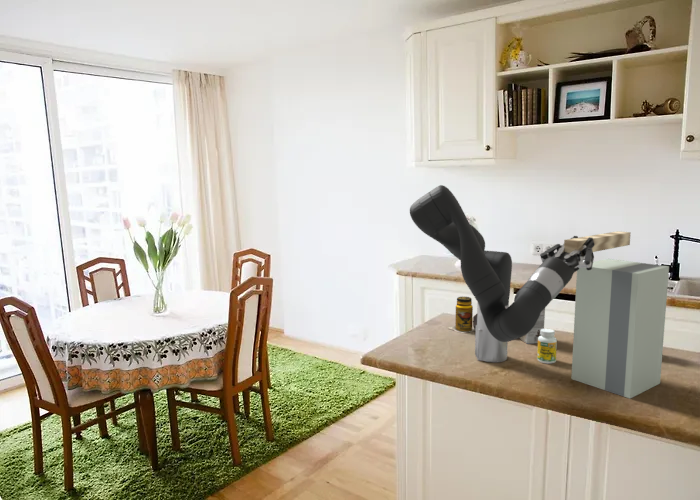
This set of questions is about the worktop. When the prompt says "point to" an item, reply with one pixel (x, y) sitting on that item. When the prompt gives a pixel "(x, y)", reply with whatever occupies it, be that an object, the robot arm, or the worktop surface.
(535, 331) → the coffee box
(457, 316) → the condiment
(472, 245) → the robot arm
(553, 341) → the supplement bottle
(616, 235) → the beech rod
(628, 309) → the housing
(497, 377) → the worktop surface
